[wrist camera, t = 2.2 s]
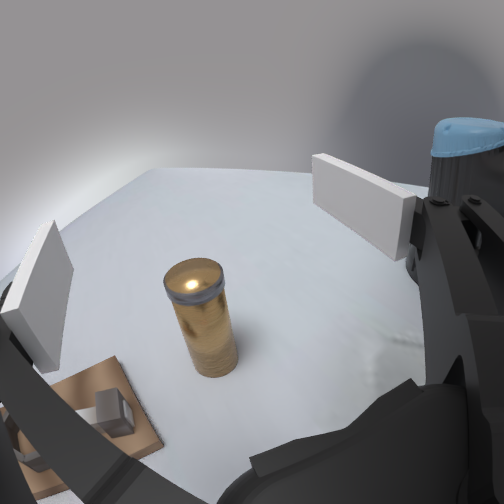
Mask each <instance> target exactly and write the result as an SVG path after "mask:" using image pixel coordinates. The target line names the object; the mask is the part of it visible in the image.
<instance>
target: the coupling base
mask: <svg viewBox="0 0 504 504" xmlns="http://www.w3.org/2000/svg"><path fill="white" fill-rule="evenodd" d="M50 387H51V388H52V389H53V390H54V391H55V392H56V393H57V394H58V395H59V396H60V397H61V398H62V399H63V400H64V401H65V402H66V403H67V404H68V405H69V406H70V407H71V408H72V409H74V410H75V411H76V412H77V413H78V414H79V415H80V416H81V417H82V418H83V419H84V420H86V421H87V422H88V423H89V424H90V425H91V426H92V427H94V428H95V429H96V430H97V431H98V432H99V433H101V434H102V435H103V436H104V437H105V438H107V439H108V440H109V441H110V442H112V443H113V444H114V445H115V446H117V447H118V448H119V449H121V450H122V451H123V452H124V453H126V454H127V455H129V456H130V457H134V458H135V459H137V460H138V459H141V458H143V457H145V456H147V455H149V454H151V453H153V452H155V451H157V450H159V449H161V448H163V447H164V446H163V444H162V443H161V441H160V439H159V438H158V436H157V434H156V433H155V431H154V429H153V427H152V426H151V424H150V422H149V420H148V418H147V417H146V415H145V413H144V411H143V409H142V407H141V406H140V404H139V402H138V400H137V398H136V396H135V394H134V392H133V390H132V388H131V386H130V384H129V382H128V380H127V378H126V376H125V374H124V372H123V370H122V368H121V366H120V363H119V362H118V360H117V358H116V357H115V356H113V357H110V358H108V359H106V360H104V361H102V362H100V363H98V364H96V365H94V366H92V367H90V368H88V369H85V370H83V371H81V372H79V373H77V374H75V375H73V376H71V377H68V378H66V379H64V380H62V381H60V382H58V383H55V384H53V385H51V386H50ZM0 411H1V414H2V417H3V421H4V424H5V427H6V430H7V433H8V436H9V439H10V441H11V444H12V447H13V450H14V452H15V455H16V457H17V460H18V462H19V465H20V467H21V470H22V472H23V474H24V477H25V479H26V481H27V483H28V485H29V487H30V490H31V492H32V494H33V496H34V498H35V500H39V499H42V498H45V497H48V496H51V495H54V494H57V493H60V492H62V491H65V490H68V489H70V488H69V487H68V486H67V485H66V484H65V483H64V482H63V481H62V480H61V479H60V478H59V477H58V476H57V475H56V473H55V472H54V471H53V470H52V469H51V468H50V467H49V465H48V464H47V463H46V462H45V461H44V460H43V458H42V457H41V456H40V455H39V454H38V452H37V451H36V450H35V449H34V447H33V446H32V445H31V443H30V442H29V441H28V440H27V438H26V437H25V436H24V434H23V433H22V431H21V430H20V429H19V427H18V426H17V425H16V423H15V422H14V420H13V419H12V417H11V416H10V414H9V413H8V411H7V410H6V408H5V407H2V408H0Z"/></svg>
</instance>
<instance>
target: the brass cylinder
mask: <svg viewBox="0 0 504 504" xmlns="http://www.w3.org/2000/svg"><path fill="white" fill-rule="evenodd" d="M163 283H164V287H165V290H166V293H167V296H168V298H169V299H170V300H171V301H172V304H173V307H174V310H175V313H176V316H177V319H178V322H179V325H180V328H181V331H182V333H183V336H184V339H185V342H186V345H187V347H188V350H189V353H190V356H191V358H192V361H193V364H194V366H195V369H196V370H197V371H198V372H199V373H200V374H201V375H203V376H206V377H211V378H215V377H221V376H224V375H226V374H228V373H230V372H231V371H232V370H233V369H234V368H235V366H236V365H237V362H238V355H237V350H236V346H235V341H234V336H233V331H232V326H231V321H230V316H229V311H228V306H227V301H226V296H225V291H224V286H225V279H224V274H223V269H222V267H221V265H220V264H219V263H217V262H216V261H213V260H211V259H207V258H193V259H188V260H185V261H182V262H180V263H178V264H176V265H174V266H173V267H172V268H171V269H170V270H169V271H168V272H167V273H166V275H165V277H164V280H163Z"/></svg>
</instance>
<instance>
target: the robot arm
mask: <svg viewBox="0 0 504 504" xmlns="http://www.w3.org/2000/svg"><path fill="white" fill-rule="evenodd" d="M431 155H432V165H431V175H430V184H429V191H428V197H425V198H424V199H421V198H419V197H417V195H416V194H414V193H412V192H410V191H408V190H406V189H404V188H402V187H399V186H397V185H395V184H393V183H391V182H389V181H387V180H385V179H383V178H380V177H378V176H376V175H374V174H372V173H369V172H367V171H365V170H363V169H360V168H358V167H356V166H353V165H351V164H349V163H346V162H344V161H341V160H339V159H337V158H334V157H332V156H329V155H327V154H324V153H323V154H317V155H312V174H313V203H314V204H315V205H317V206H318V207H320V208H321V209H322V210H324V211H325V212H327V213H328V214H330V215H331V216H333V217H334V218H335V219H337V220H338V221H340V222H341V223H343V224H344V225H345V226H347V227H348V228H350V229H351V230H353V231H354V232H355V233H357V234H358V235H359V236H361V237H362V238H364V239H365V240H366V241H368V242H369V243H370V244H372V245H373V246H375V247H376V248H377V249H379V250H380V251H381V252H383V253H384V254H385V255H387V256H388V257H389V258H391V259H392V260H393V261H398V260H400V259H403V258H405V257H407V258H406V267H407V270H408V272H409V274H410V276H411V277H412V278H413V279H414V281H415V282H416V283H418V284H419V291H420V300H421V309H422V319H423V331H424V345H425V366H426V384H425V385H424V386H419V387H418V386H417V385H416V383H415V382H414V381H413V380H412V379H411V378H410V379H408V380H407V381H405V382H404V383H402V384H400V385H399V386H397V387H396V388H394V389H392V390H391V391H389V392H387V393H386V394H384V395H382V396H381V397H379V398H378V399H377V400H376V401H375V402H374V403H373V404H372V405H370V406H369V407H368V408H367V409H366V410H365V411H364V412H363V413H362V414H361V415H360V416H359V417H358V418H357V419H356V420H355V421H353V422H352V423H351V424H350V425H349V426H348V427H346V428H344V429H341V430H337V431H333V432H329V433H325V434H320V435H316V436H311V437H306V438H301V439H295V440H293V441H290V442H288V443H286V444H283V445H281V446H278V447H276V448H273V449H271V450H268V451H265V452H263V453H260V454H257V455H255V456H252V457H249V459H250V462H251V465H252V468H251V469H250V470H248V471H247V472H245V473H244V474H242V475H241V476H240V477H239V478H237V479H236V480H235V481H234V482H233V483H232V484H231V485H230V486H229V487H228V488H227V489H226V490H225V492H224V493H223V494H222V496H221V497H220V498H219V500H218V502H217V504H504V123H503V122H497V121H494V120H487V119H479V118H448V119H444V120H442V121H440V122H439V123H438V124H437V125H436V128H435V131H434V140H433V148H432V149H431ZM410 243H411V244H410ZM409 245H410V246H409ZM73 271H74V268H73V266H72V264H71V261H70V259H69V256H68V254H67V252H66V249H65V247H64V244H63V241H62V239H61V236H60V234H59V231H58V228H57V226H56V223H55V220H53V221H51V222H47V223H44V224H41V226H40V227H39V229H38V231H37V233H36V235H35V237H34V238H33V240H32V242H31V244H30V246H29V249H28V250H27V252H26V254H25V257H24V259H23V261H22V263H21V265H20V267H19V269H18V271H17V274H16V276H15V278H14V280H13V282H10V284H9V285H8V286H7V287H6V289H5V290H4V291H3V294H2V296H1V298H0V299H1V300H0V403H1V402H2V404H3V405H4V407H5V408H6V410H7V411H8V413H9V414H10V416H11V417H12V419H13V420H14V422H15V423H16V425H17V426H18V427H19V429H20V430H21V431H22V433H23V434H24V436H25V437H26V438H27V440H28V441H29V442H30V443H31V445H32V446H33V447H34V449H35V450H36V451H37V452H38V454H39V455H40V456H41V457H42V458H43V460H44V461H45V462H46V463H47V464H48V465H49V467H50V468H51V469H52V470H53V471H54V472H55V473H56V475H57V476H58V477H59V478H60V479H61V480H62V481H63V482H64V483H65V484H66V485H67V486H68V487H69V488H70V490H71V491H72V492H73V493H74V494H75V495H76V496H77V497H78V498H79V499H80V500H81V501H82V502H83V503H84V504H208V503H206V502H204V501H202V500H201V499H199V498H197V497H195V496H194V495H192V494H190V493H188V492H187V491H185V490H183V489H182V488H180V487H178V486H177V485H175V484H173V483H172V482H170V481H169V480H167V479H165V478H164V477H162V476H161V475H159V474H158V473H156V472H155V471H153V470H152V469H150V468H149V467H147V466H146V465H144V464H143V463H141V462H140V461H139V460H137V459H135V458H134V457H130V456H129V455H127V454H126V453H124V452H123V451H122V450H121V449H119V448H118V447H117V446H115V445H114V444H113V443H112V442H110V441H109V440H108V439H107V438H105V437H104V436H103V435H102V434H101V433H99V432H98V431H97V430H96V429H95V428H94V427H92V426H91V425H90V424H89V423H88V422H87V421H86V420H84V419H83V418H82V417H81V416H80V415H79V414H78V413H77V412H76V411H75V410H74V409H72V408H71V407H70V406H69V405H68V404H67V403H66V402H65V401H64V400H63V399H62V398H61V397H60V396H59V395H58V394H57V393H56V392H55V391H54V390H53V389H52V388H51V387H50V386H49V385H48V384H47V383H46V382H45V380H44V379H43V378H42V377H41V376H40V375H39V374H38V373H37V372H36V371H35V370H34V368H33V363H34V365H35V366H36V367H37V368H38V370H39V371H40V372H41V374H44V373H48V372H53V371H57V370H59V366H60V355H61V346H62V338H63V330H64V323H65V316H66V309H67V303H68V297H69V292H70V286H71V281H72V276H73ZM0 504H37V502H36V500H35V498H34V496H33V494H32V492H31V490H30V487H29V485H28V483H27V481H26V479H25V477H24V474H23V472H22V470H21V467H20V465H19V462H18V460H17V457H16V455H15V452H14V450H13V447H12V444H11V441H10V439H9V436H8V433H7V430H6V427H5V424H4V421H3V417H2V414H1V411H0Z"/></svg>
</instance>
